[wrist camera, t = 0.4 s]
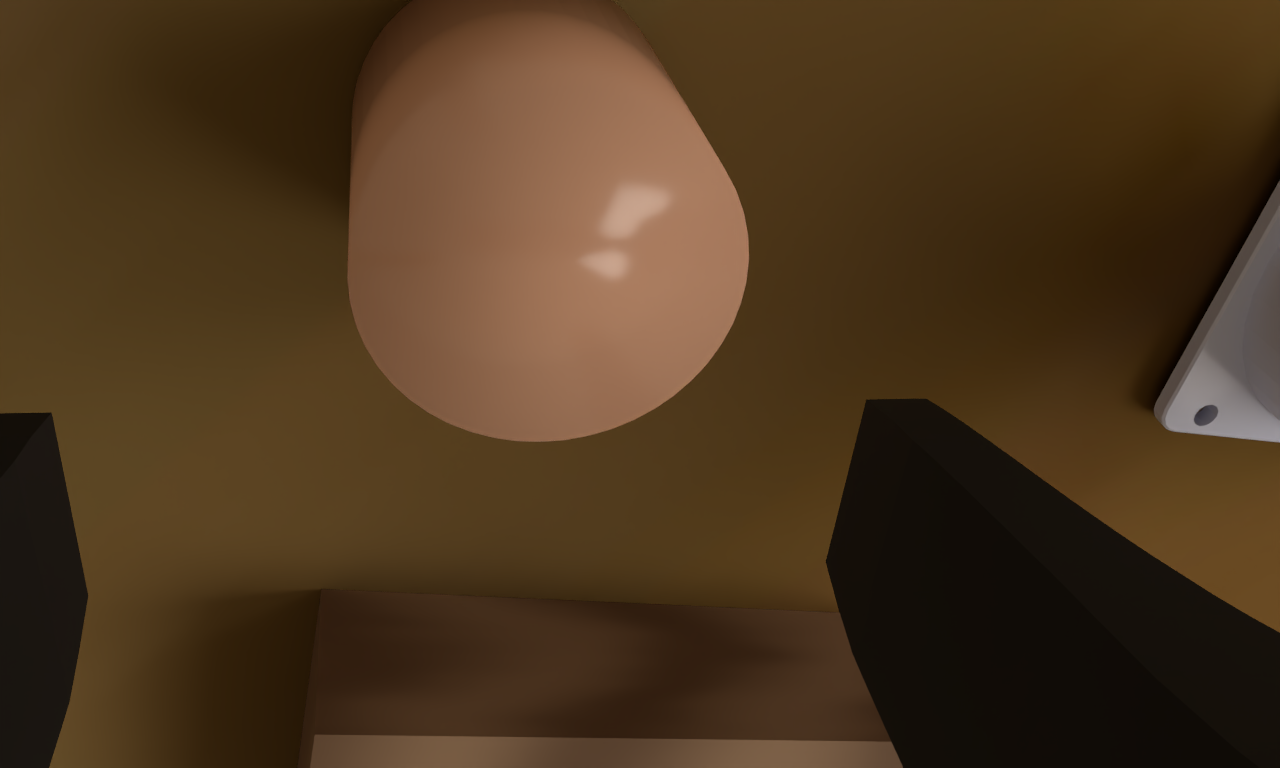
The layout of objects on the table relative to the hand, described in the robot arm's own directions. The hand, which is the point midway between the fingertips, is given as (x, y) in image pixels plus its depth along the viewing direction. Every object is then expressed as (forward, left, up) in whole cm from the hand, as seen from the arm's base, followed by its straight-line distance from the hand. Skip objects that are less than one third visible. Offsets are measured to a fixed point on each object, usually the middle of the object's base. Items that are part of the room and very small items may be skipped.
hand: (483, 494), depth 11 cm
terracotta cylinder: (-1, 0, -9) cm, 9 cm away
